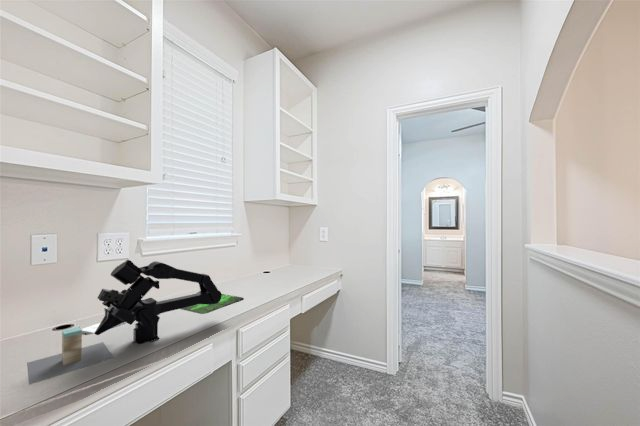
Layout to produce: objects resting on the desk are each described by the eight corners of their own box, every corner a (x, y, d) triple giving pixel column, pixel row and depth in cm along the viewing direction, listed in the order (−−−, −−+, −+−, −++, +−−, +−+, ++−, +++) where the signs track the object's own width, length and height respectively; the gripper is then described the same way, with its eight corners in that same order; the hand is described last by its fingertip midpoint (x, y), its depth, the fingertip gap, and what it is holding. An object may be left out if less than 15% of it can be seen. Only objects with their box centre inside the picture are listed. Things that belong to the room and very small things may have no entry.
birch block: (79, 355, 86) (79, 326, 86) (81, 359, 83) (81, 330, 83) (61, 360, 83) (62, 330, 83) (63, 365, 80) (63, 334, 80)
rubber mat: (103, 343, 95) (103, 342, 95) (114, 359, 84) (114, 357, 84) (27, 364, 81) (27, 362, 81) (29, 386, 71) (29, 384, 71)
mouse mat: (203, 315, 124) (203, 313, 124) (172, 308, 133) (172, 306, 133) (245, 299, 148) (245, 297, 148) (216, 294, 158) (216, 292, 158)
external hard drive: (126, 324, 114) (92, 336, 102) (112, 322, 116) (78, 333, 105) (126, 320, 114) (92, 332, 102) (112, 318, 116) (78, 329, 105)
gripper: (109, 275, 98) (67, 314, 89) (123, 283, 85) (76, 330, 77) (135, 292, 103) (98, 331, 95) (152, 302, 91) (111, 347, 83)
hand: (95, 334), depth 87 cm, fingers closed
